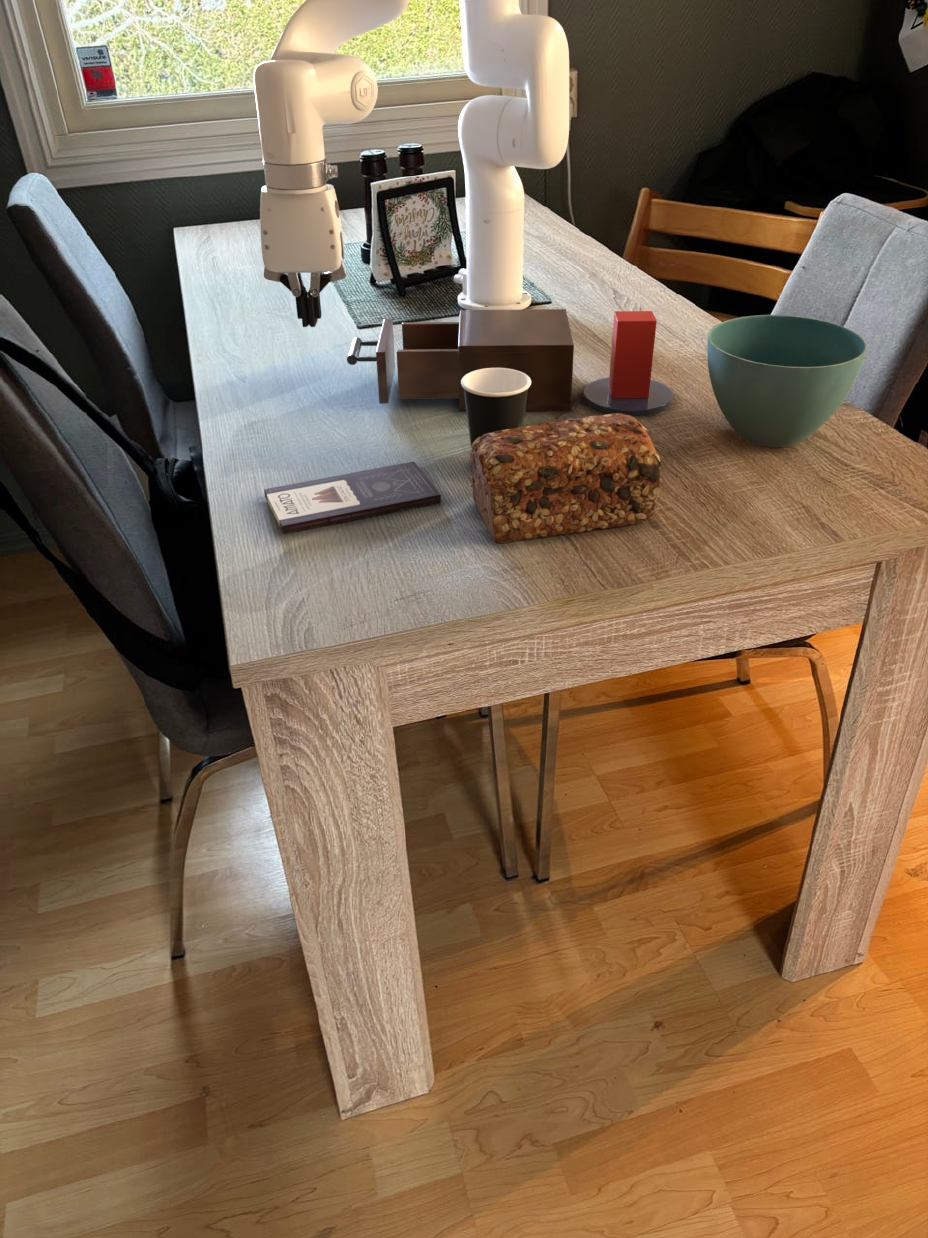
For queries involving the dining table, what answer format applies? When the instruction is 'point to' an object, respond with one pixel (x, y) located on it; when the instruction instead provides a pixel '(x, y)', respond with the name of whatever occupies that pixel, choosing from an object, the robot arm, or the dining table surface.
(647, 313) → the red rectangular block
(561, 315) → the cabinet
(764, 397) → the green bowl
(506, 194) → the robot arm
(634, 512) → the bread
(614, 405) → the plate
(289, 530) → the chocolate bar
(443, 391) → the drawer
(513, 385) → the dixie cup
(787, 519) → the dining table surface
